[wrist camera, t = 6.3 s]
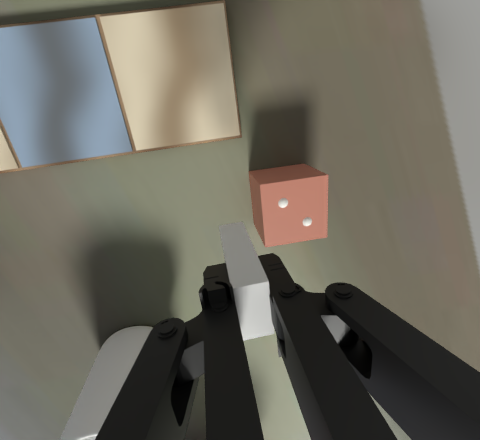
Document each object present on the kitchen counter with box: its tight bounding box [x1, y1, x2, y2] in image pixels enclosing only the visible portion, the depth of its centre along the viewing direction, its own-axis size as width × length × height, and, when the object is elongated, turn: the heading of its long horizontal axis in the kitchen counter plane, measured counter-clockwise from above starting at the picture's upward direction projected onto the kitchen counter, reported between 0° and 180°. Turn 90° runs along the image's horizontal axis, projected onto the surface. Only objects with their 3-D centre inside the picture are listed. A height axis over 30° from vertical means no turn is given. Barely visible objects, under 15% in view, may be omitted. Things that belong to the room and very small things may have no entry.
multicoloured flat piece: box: [0, 0, 242, 173], centre depth 19 cm, size 26×9×1 cm, turn 97°
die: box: [249, 164, 328, 247], centre depth 22 cm, size 5×5×5 cm
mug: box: [60, 326, 153, 440], centre depth 24 cm, size 12×8×10 cm
